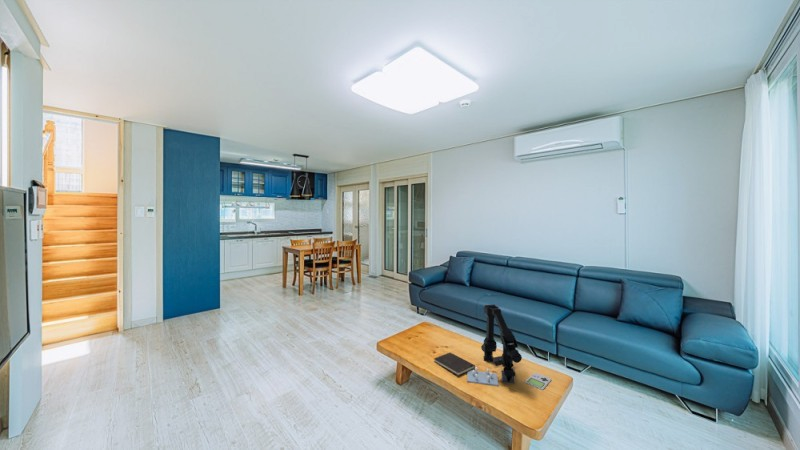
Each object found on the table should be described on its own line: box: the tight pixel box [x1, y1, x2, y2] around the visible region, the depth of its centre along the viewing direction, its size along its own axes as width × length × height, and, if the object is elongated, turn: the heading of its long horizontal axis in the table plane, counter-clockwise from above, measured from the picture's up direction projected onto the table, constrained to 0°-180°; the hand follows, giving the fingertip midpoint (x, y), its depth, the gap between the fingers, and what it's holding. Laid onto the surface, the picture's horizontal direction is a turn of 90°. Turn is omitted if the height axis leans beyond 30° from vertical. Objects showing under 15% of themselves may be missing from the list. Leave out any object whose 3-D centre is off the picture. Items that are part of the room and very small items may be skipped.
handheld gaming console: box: [525, 372, 552, 391], centre depth 169 cm, size 10×2×15 cm
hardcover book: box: [433, 352, 476, 377], centre depth 187 cm, size 16×23×2 cm
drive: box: [500, 369, 516, 385], centre depth 169 cm, size 4×7×5 cm, turn 75°
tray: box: [466, 366, 499, 387], centre depth 172 cm, size 12×18×4 cm, turn 75°
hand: (507, 379), depth 169 cm, fingers closed on drive, 4 cm apart
